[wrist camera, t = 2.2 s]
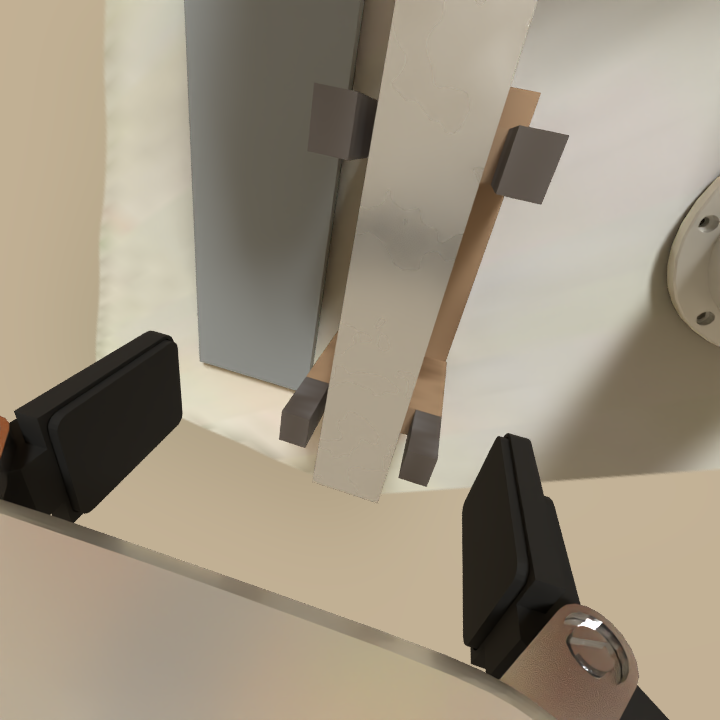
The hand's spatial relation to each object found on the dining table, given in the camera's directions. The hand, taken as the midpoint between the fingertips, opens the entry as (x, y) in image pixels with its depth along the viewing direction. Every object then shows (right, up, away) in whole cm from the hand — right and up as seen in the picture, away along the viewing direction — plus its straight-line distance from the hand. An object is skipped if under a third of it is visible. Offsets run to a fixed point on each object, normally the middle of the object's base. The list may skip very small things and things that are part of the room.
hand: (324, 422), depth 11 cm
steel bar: (+3, +5, +8) cm, 10 cm away
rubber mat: (-6, +11, +16) cm, 21 cm away
